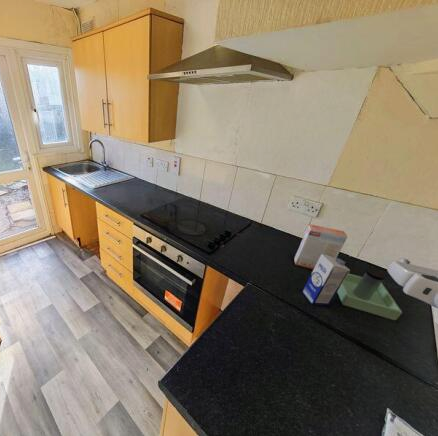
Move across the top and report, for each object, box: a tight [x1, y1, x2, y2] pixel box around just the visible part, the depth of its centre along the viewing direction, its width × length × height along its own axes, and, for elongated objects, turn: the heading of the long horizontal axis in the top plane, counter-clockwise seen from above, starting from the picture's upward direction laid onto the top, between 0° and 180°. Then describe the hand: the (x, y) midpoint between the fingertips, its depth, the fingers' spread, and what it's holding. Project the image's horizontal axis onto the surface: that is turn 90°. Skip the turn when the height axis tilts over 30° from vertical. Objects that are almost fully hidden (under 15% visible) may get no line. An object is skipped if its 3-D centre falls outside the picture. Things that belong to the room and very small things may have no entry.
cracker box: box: [293, 223, 348, 271], centre depth 107 cm, size 14×6×21 cm, turn 65°
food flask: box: [353, 268, 386, 300], centre depth 91 cm, size 5×5×12 cm
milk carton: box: [302, 254, 351, 306], centre depth 88 cm, size 7×7×20 cm
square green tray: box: [337, 273, 403, 322], centre depth 94 cm, size 17×18×4 cm
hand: (422, 265), depth 69 cm, fingers open, 8 cm apart
